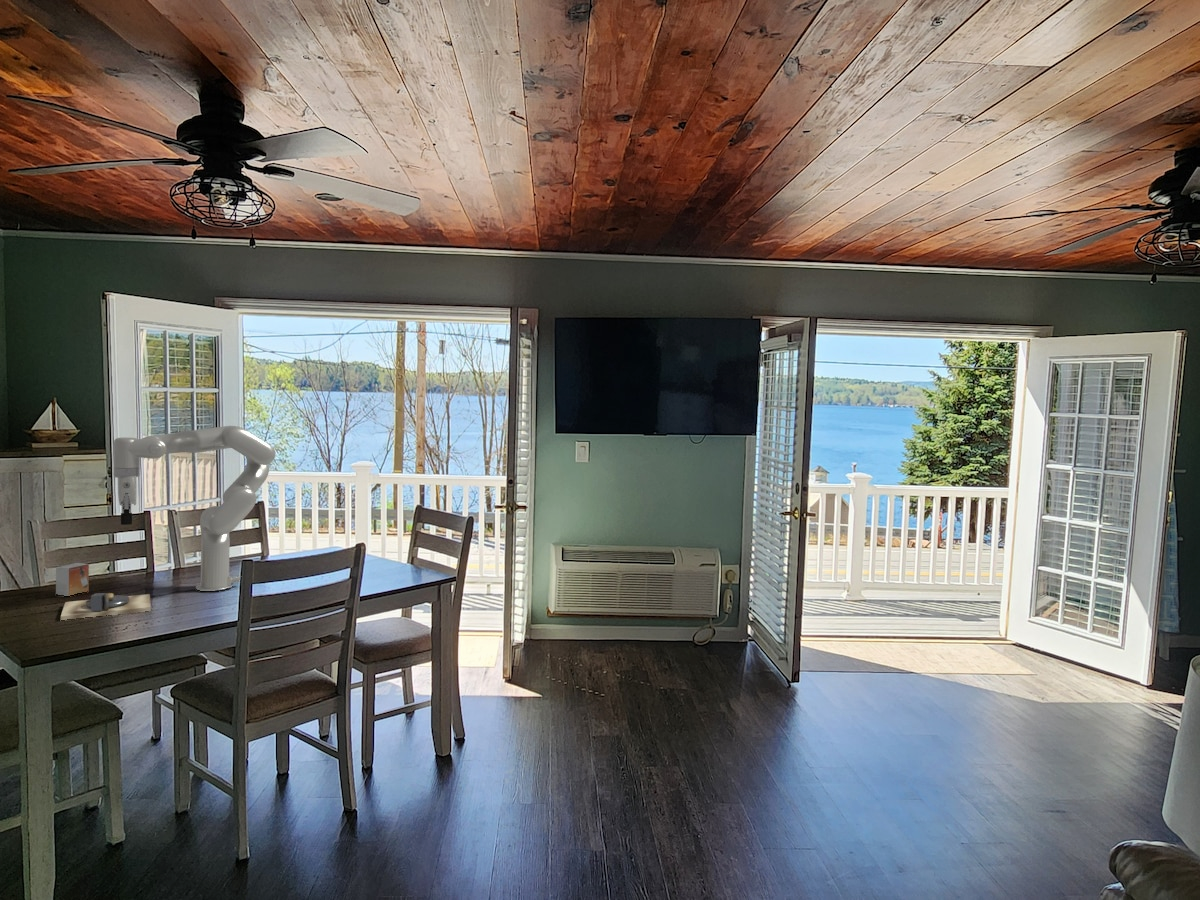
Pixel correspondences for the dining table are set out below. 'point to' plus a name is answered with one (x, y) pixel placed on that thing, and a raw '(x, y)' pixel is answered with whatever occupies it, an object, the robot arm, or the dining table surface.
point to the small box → (72, 579)
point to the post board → (106, 607)
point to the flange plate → (98, 601)
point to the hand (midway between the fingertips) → (126, 524)
